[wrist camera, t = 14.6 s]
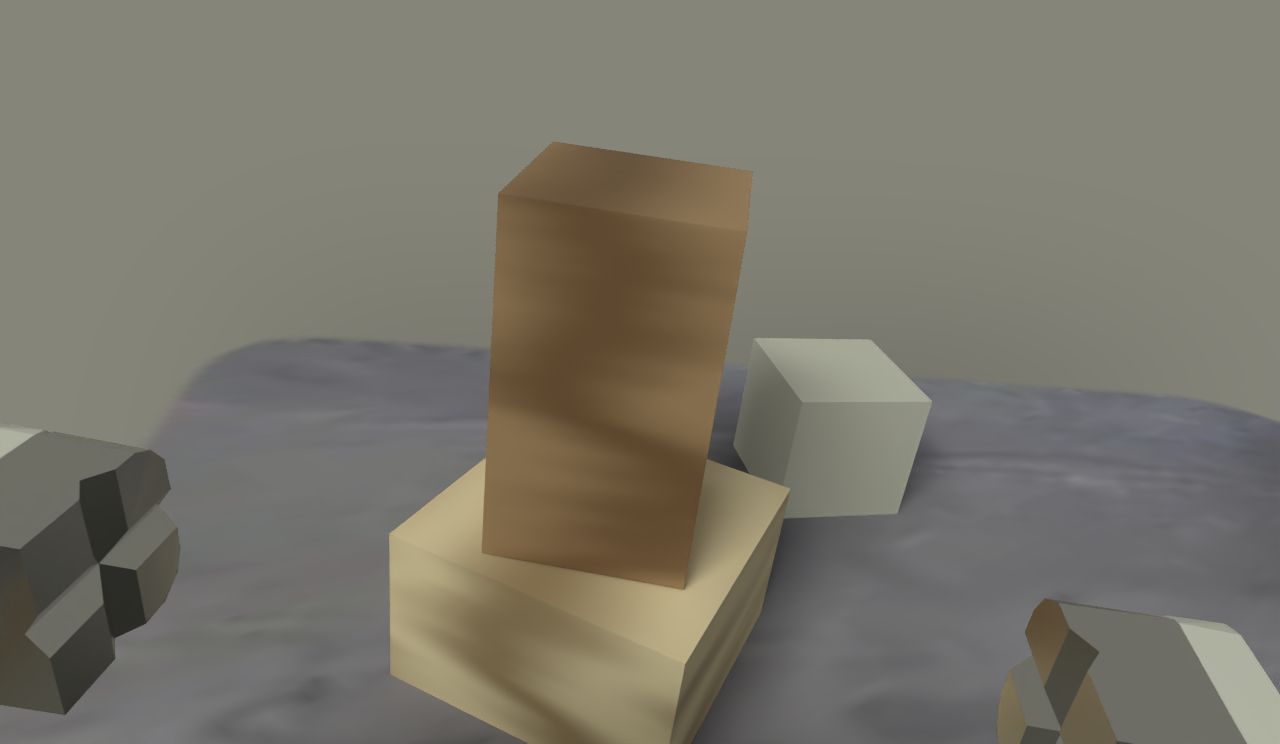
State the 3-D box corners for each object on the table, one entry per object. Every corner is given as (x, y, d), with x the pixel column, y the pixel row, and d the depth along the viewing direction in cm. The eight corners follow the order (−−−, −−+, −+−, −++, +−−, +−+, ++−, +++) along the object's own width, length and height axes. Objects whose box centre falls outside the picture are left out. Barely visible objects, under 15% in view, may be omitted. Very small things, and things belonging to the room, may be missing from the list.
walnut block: (698, 477, 26) (752, 171, 22) (683, 589, 22) (747, 231, 18) (530, 448, 26) (553, 141, 22) (481, 553, 22) (498, 193, 18)
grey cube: (842, 444, 39) (870, 339, 36) (896, 515, 34) (932, 401, 32) (732, 446, 37) (754, 338, 35) (774, 520, 33) (802, 402, 31)
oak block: (759, 618, 29) (790, 489, 26) (655, 814, 22) (685, 664, 20) (541, 529, 31) (553, 404, 29) (390, 680, 25) (389, 533, 22)
